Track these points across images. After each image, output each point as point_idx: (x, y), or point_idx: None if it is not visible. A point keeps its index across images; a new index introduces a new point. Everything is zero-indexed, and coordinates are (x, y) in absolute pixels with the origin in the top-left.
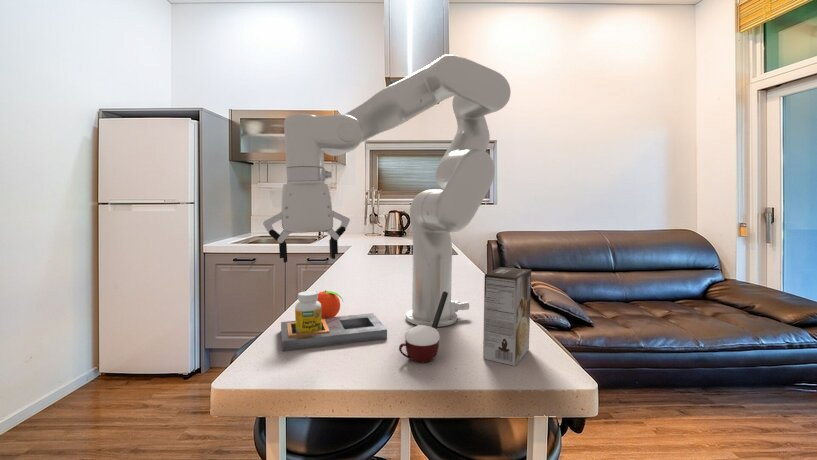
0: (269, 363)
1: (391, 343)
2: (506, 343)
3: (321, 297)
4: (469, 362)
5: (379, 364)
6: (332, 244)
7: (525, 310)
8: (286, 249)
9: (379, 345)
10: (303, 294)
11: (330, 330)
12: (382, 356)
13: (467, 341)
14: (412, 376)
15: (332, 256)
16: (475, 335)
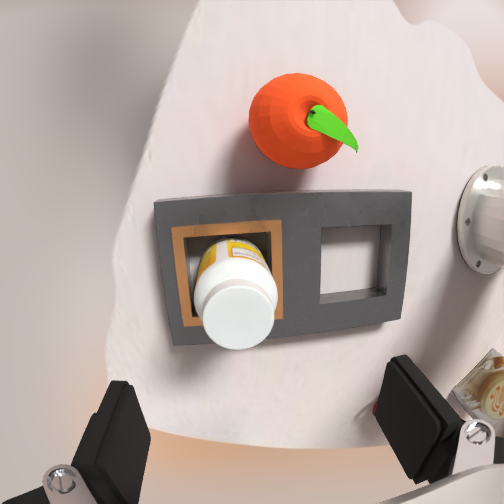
0: (161, 375)
1: (388, 333)
2: (470, 415)
3: (289, 145)
4: None
5: (337, 403)
6: (406, 468)
7: None
8: (139, 487)
9: (366, 339)
10: (222, 333)
11: (286, 304)
12: (352, 381)
13: (475, 336)
14: (360, 430)
15: (381, 421)
16: (494, 315)
